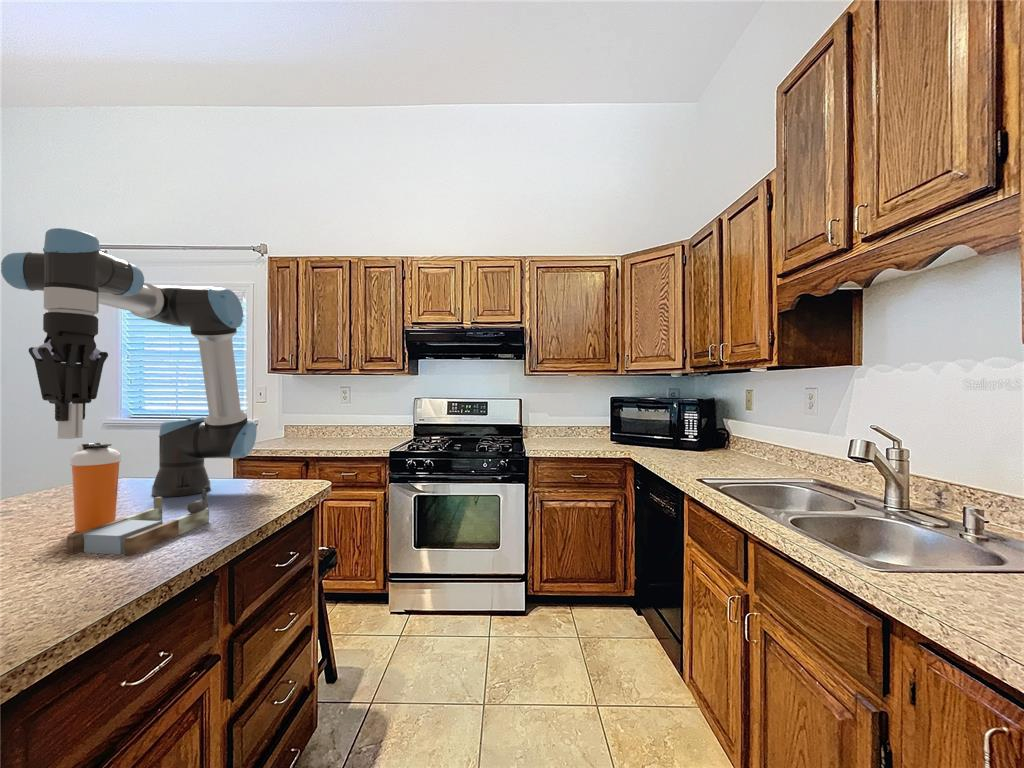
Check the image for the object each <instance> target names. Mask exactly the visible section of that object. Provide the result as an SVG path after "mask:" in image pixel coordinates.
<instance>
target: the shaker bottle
mask: <svg viewBox="0 0 1024 768" xmlns="http://www.w3.org/2000/svg"><path fill="white" fill-rule="evenodd" d="M112 445H113V444H111V443H103V444H102V443H101V442H91V443H83V444H79V445H78V446H77V451H76V452H74V453H73V454H72V455H71V456H70V466H71V473H72V474H71V476H72V494H73V512H74V513H73V514H74V530H75V532H77V533H79V532H83V531H86V530H89V529H92V528H95V527H98V526H101V525H104V524H107V523H110V522H113V521H116V513H117V501H118V499H117V498H118V489H119V487H118V486H119V472H120V462H121V461H122V460H121V459H122V458H121V455H122V454H121V453H120V452H119V451H118V450H117V449H115V448H110V447H111V446H112Z"/></svg>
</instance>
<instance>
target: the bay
mask: <svg viewBox="0 0 1024 768" xmlns="http://www.w3.org/2000/svg"><path fill="white" fill-rule="evenodd" d="M210 490H211V486H210V487H208V486H206V487H204V488H203V490H202V492H201V493H202V494H201V499H198V500H195V501H193V502H190V503H188V505H187V512H188V514H185V515H183V516H179V517H177V518H174V519H172V520H169V521H166V522H163V524H161V525H158V526H156V527H153V528H151V529H148V530H145V531H143V532H140V533H137V534H135V535H132V536H130V537H127V538H125V552H124V556H126V557H129V556H130V557H131V556H133V555H135V554H137V553H140V552H142V551H144V550H147V549H150V548H152V547H154V546H156V545H158V544H159V545H160V544H161V543H163V542H166V541H168V540H170V539H172V538H176V537H177V536H180V535H182V534H185V533H186V532H189V531H191V530H194V529H196V528H198V527H201V526H203V525H205V524H208V523H210V507H209V501H208V500H207V492H209V491H210ZM128 519H131V520H145V521H163V497H159V496H155V497H154V498H153V508H150V509H147V510H146V509H145V510H144V511H141V512H137V513H134V514H132V515H128V516H126V517H122V518H119V519H117V520H116V519H115V521H113V522H110V523H107V524H104V525H101V526H98V527H95V528H92V529H89V530H86V531H83V532H77V533H74V534H70V535H67V537H66V554H67V555H73V554H76V553H79V552H82V551H84V538H83V534H85V533H88V532H91V531H94V530H98V529H101V528H104V527H107V526H110V525H113V524H116V523H119V522H122V521H125V520H128Z"/></svg>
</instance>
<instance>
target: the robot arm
mask: <svg viewBox="0 0 1024 768" xmlns="http://www.w3.org/2000/svg"><path fill="white" fill-rule="evenodd" d="M44 236H45V237H44V246H43V248H42V252H43V253H42V252H31V251H25V252H12V253H8V254H7V255H6V256H4V257H3V259H2V260H1V262H0V273H1V276H2V278H3V279H4V281H5V282H6V283H7V284H8V285H9V286H11V287H13V288H15V289H18V290H25V291H32V292H35V291H42V292H43V309H44V310H45V311H46V310H47V311H48V312H45V313H43V316H42V317H43V318H42V321H43V322H42V330H43V331H44V333H46V337H45V338H44V340H43V344H41V345H39V346H35V347H34V346H33V347H32V346H31V347H29V348H28V353H29V355H30V356H31V358H32V360H33V361H34V366H35V370H36V374H37V379H38V384H39V389H40V394H41V398H42V400H43V401H47V402H48V403H50V404H54V420H55V421H56V422H57V439H59V440H60V439H61V440H62V439H63V440H65V439H66V440H68V439H69V440H73V439H81V438H83V428H84V427H83V425H84V420H85V418H86V404H90V403H92V400H96V399H97V397H98V393H99V392H98V391H99V388H100V383H101V377H102V375H103V374H102V373H103V368H104V365H105V362H106V361H107V359H108V357H109V353H108V352H107V351H101V350H100V349H98V348H97V344H96V341H95V337H96V336H97V335H98V334H99V318H98V317H97V316H96V315H98V314H99V310H100V308H99V305H104V306H107V307H112V308H115V309H120V310H124V311H128V312H130V313H131V314H132V315H133V316H136V317H138V318H141V319H146V320H149V321H150V320H151V321H154V322H157V323H161V324H166V325H171V326H178V327H189V329H190V334H191V335H192V336H193V337H195V338H196V339H197V341H198V347H199V348H198V349H199V355H200V362H201V368H202V374H203V380H204V388H205V394H206V395H205V396H206V403H207V410H208V414H207V416H206V417H203V416H202V417H191V418H185V419H184V418H183V419H175V420H169V421H164V422H163V423H161V424H160V427H159V435H158V438H159V442H158V443H159V447H158V448H159V449H158V450H159V451H158V452H159V453H158V454H159V457H158V458H159V460H158V461H159V466H158V467H159V468H158V471H157V474H156V476H155V479H154V482H153V485H152V486H151V495H152V496H153V497H162V498H164V497H165V498H168V497H170V498H171V497H182V496H189V495H190V496H191V495H195V494H201V493H202V490H203V488H204V487H206V486H208V487H210V488H211V480H210V478H209V475H208V472H207V470H206V467H205V459H231V460H232V459H240V458H241V459H242V458H246V457H248V456H249V455H250V454H251V452H252V451H253V448H254V446H255V443H256V439H257V425H256V423H255V422H254V421H248V414H247V413H246V412H244V411H242V410H241V409H242V408H241V401H240V394H239V385H238V384H239V383H238V377H237V376H238V375H237V368H236V360H235V353H234V346H233V345H234V344H233V337H234V336H235V335H236V334H237V333H238V330H237V328H239V327H241V326H242V324H243V321H244V320H243V318H244V311H243V306H242V303H241V301H240V299H239V297H238V295H236V292H234V291H233V290H231V289H229V288H224V287H216V286H182V285H154V284H152V283H148V282H147V283H145V276H144V273H143V271H142V270H141V269H140V268H139V267H138V266H136V265H135V264H133V263H131V262H129V261H127V260H125V259H122V258H118V257H115V256H113V255H110V254H107V253H104V252H102V251H101V247H100V240H99V239H98V237H97V236H95V235H94V234H92V233H88V232H85V231H81V230H78V229H77V230H76V229H71V228H63V227H62V228H60V227H59V228H57V227H56V228H50V229H47V230H46V232H45V235H44Z"/></svg>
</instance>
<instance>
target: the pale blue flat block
mask: <svg viewBox="0 0 1024 768" xmlns="http://www.w3.org/2000/svg"><path fill="white" fill-rule="evenodd" d="M161 524H164V522H163V520H162V521H145V520H131V519H128V520H125V521H122V522H119V523H116V524H113V525H110V526H107V527H104V528H101V529H98V530H94V531H91V532H88V533H85V534H83V538H84V550H83V551H84V553H90V554H91V553H93V554H113V555H115V554H116V555H122V554H125V538H127V537H130V536H132V535H135V534H137V533H140V532H143V531H145V530H148V529H151V528H153V527H156V526H158V525H161Z"/></svg>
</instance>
